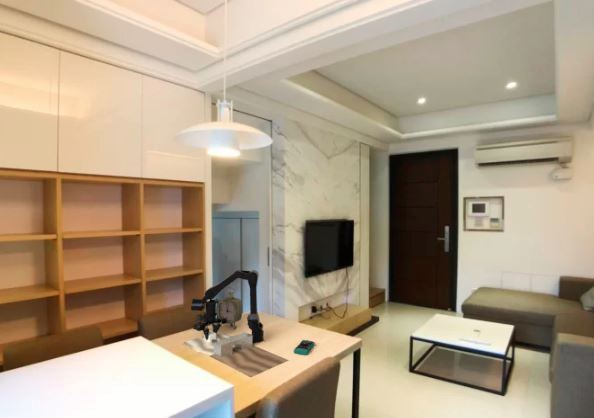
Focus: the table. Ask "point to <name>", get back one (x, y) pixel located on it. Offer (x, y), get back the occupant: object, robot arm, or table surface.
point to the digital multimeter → (304, 347)
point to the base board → (239, 356)
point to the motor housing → (226, 345)
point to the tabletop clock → (230, 308)
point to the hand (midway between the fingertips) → (210, 338)
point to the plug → (212, 337)
